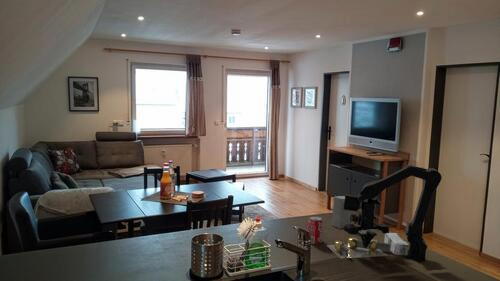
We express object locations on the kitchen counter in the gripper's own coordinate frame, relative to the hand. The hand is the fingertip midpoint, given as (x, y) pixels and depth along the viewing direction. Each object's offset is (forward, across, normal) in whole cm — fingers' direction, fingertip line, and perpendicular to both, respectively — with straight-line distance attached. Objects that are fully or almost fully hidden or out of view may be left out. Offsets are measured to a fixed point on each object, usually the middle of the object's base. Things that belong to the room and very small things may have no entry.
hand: (365, 247), depth 159 cm
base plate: (+3, +3, -2) cm, 4 cm away
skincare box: (+3, -6, -35) cm, 36 cm away
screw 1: (+1, +11, +1) cm, 11 cm away
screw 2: (+1, -7, -1) cm, 7 cm away
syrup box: (0, -18, -8) cm, 20 cm away
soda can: (+3, +18, -14) cm, 23 cm away
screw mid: (+1, +1, -3) cm, 4 cm away
